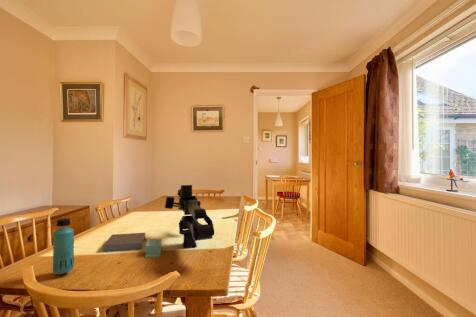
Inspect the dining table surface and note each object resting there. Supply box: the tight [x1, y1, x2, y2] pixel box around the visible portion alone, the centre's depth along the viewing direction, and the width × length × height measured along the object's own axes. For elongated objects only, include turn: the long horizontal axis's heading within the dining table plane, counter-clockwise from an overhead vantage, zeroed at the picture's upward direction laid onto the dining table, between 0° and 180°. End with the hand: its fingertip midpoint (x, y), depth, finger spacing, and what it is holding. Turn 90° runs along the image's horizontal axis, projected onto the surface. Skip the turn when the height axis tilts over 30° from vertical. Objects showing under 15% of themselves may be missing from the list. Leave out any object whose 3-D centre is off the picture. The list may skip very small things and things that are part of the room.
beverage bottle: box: [52, 217, 75, 275], centre depth 91 cm, size 6×7×20 cm
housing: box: [144, 238, 163, 259], centre depth 113 cm, size 12×6×5 cm, turn 14°
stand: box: [102, 232, 146, 253], centre depth 122 cm, size 16×16×3 cm
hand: (180, 203), depth 144 cm, fingers open, 9 cm apart
